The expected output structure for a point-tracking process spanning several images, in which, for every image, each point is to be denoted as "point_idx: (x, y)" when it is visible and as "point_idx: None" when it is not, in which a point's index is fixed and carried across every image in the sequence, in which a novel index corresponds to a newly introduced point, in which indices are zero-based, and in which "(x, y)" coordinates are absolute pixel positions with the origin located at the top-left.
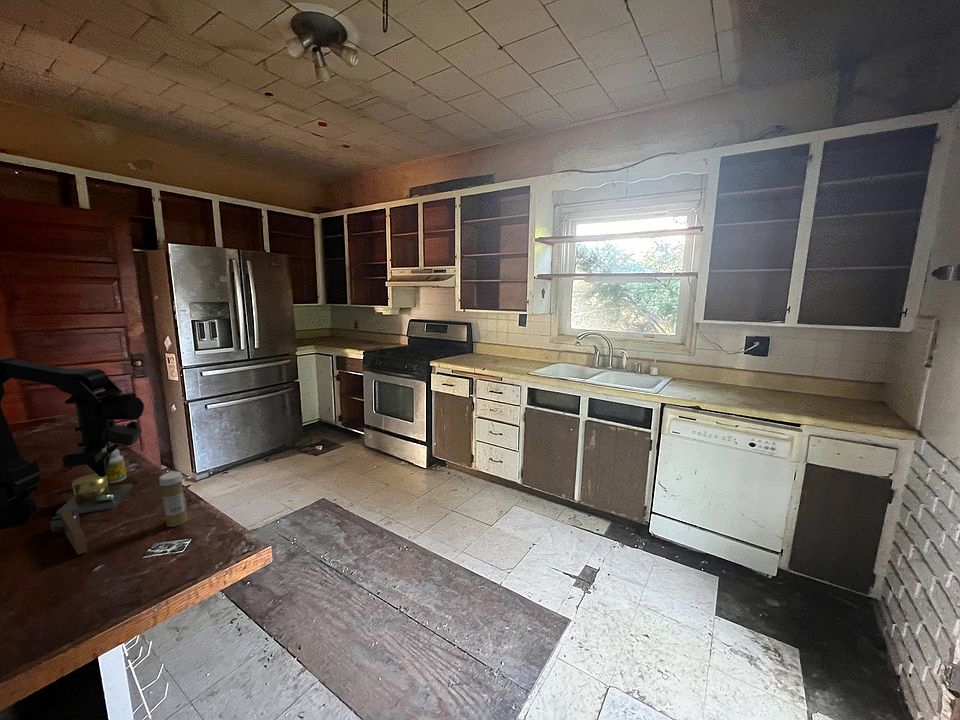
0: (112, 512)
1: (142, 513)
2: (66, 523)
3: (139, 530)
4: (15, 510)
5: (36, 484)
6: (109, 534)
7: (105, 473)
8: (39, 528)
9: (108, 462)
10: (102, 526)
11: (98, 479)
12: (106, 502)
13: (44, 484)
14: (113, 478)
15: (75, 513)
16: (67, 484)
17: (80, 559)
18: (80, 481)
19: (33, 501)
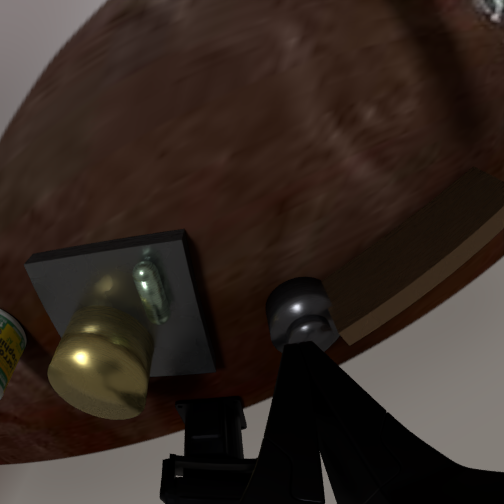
0: (218, 218)
1: (263, 85)
2: (446, 277)
3: (402, 53)
4: (233, 435)
5: (188, 472)
6: (396, 145)
7: (317, 355)
8: (270, 361)
9: (294, 435)
10: (328, 197)
11: (94, 368)
12: (168, 271)
13: (62, 428)
14: (13, 334)
15: (294, 314)
16: (52, 403)
17: (484, 170)
18: (115, 405)
19: (198, 432)
